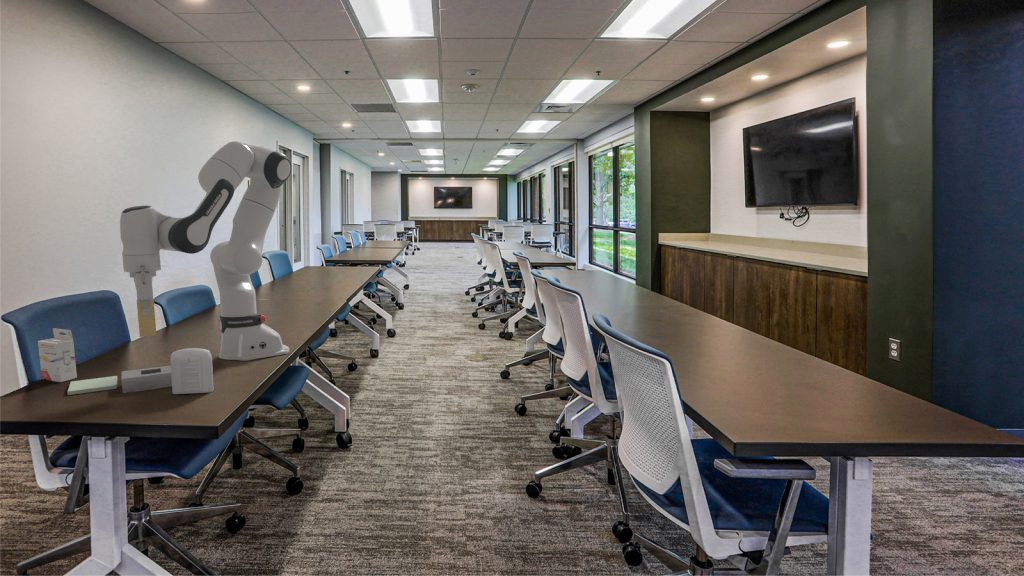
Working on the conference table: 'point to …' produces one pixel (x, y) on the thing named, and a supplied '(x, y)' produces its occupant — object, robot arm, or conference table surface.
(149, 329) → the brass peg
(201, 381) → the photo printer
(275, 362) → the conference table surface
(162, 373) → the grey block with holes
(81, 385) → the sage mat
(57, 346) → the ink cartridge box
